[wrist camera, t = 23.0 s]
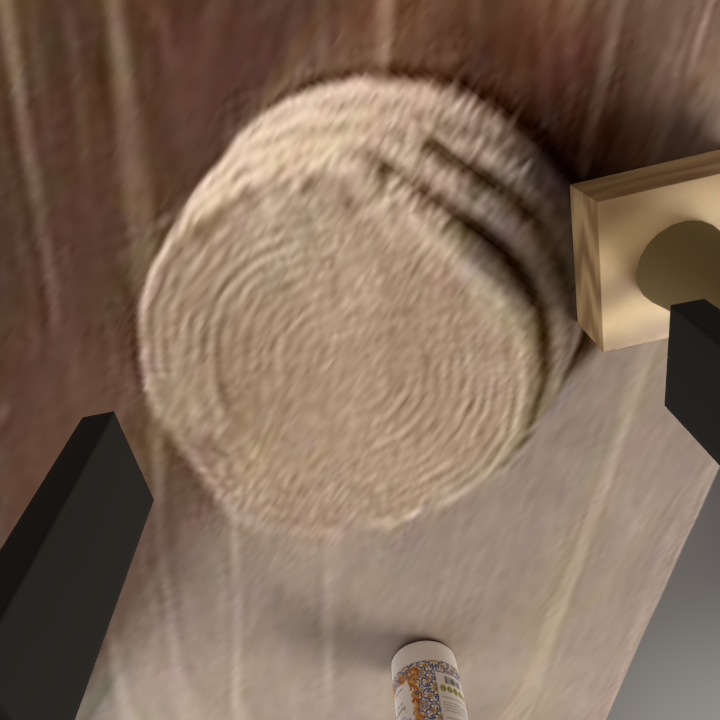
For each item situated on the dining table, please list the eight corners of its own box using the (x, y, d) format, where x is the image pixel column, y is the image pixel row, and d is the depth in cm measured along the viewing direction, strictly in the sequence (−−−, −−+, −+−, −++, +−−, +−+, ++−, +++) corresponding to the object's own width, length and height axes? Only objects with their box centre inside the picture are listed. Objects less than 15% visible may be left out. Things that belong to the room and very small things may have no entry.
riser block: (569, 184, 43) (597, 201, 39) (727, 147, 43) (774, 160, 38) (577, 323, 48) (603, 352, 44) (718, 291, 48) (759, 318, 43)
